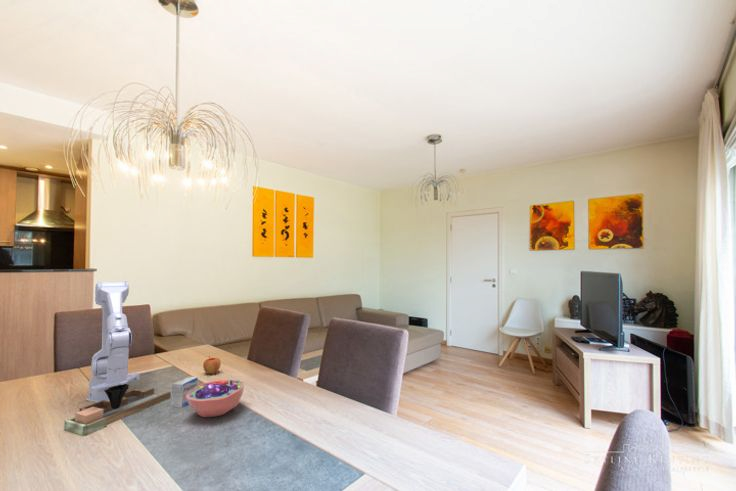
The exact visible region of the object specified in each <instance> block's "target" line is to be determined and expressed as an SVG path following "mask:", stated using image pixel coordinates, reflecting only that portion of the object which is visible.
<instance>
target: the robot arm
mask: <svg viewBox="0 0 736 491" xmlns="http://www.w3.org/2000/svg"><path fill="white" fill-rule="evenodd" d="M129 291H130V285H129V282H128V281H108V282H107V281H103V282H101V281H98V282H97V283H96V284H95V289H94V295H95V296H94V298H95V299H94V301H95V304H96V305H98V306H100V307H101V310H102V320H101V321H102V325H101V326H102V327H101V349H100V350H98V351H97V352H96V353H94V354H93V356H92V357H91V363H90V374H91V376H92V377H91V378H90V380H89V384H88V397H87V398H85V401H88V402H89V401H90V402H94V403H97V402H100V401H102V400H107V401H110V404H111V408H113V409H117V408H119V407H120V404H121V401H122V398H123V396H124V394H125V392H128V389H129V386H130V385H129V384H128V383H131V382H134V381H138V380H140V379H141V378H140V373H136V372H135V373H131V374H128V371H129V370H128V368H129V354H130V353H129V352H130V348H131V346H132V342H133V337H132V336H133V335H132V331H131V328H130V327H129V324H128V317H127V315H126V314H125V313H123V303H124V304H125V301H126V300H127V298H128V296H129Z"/></svg>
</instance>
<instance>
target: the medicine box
mask: <svg viewBox="0 0 736 491" xmlns="http://www.w3.org/2000/svg"><path fill="white" fill-rule="evenodd" d="M198 381H199V380H198V377H197V376H186V377H184V378H183V379H182V378H181V379H180V380H178V381H176V382H174V383H172V386H171V389H172V390H171V407H172V408H173V407H175V408H184V407H185V406H187V405H190V404H189V403H188V400H187V398H186V395H187V393H188V392H190V391H191V390H193V389H195V388H196V387H197V386H198Z"/></svg>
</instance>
